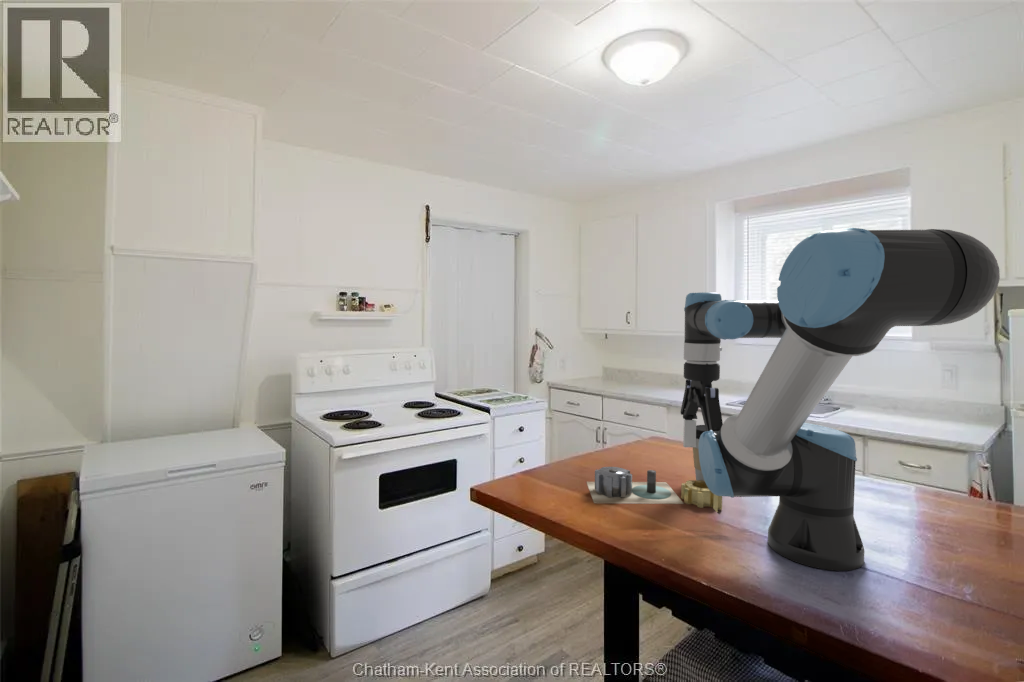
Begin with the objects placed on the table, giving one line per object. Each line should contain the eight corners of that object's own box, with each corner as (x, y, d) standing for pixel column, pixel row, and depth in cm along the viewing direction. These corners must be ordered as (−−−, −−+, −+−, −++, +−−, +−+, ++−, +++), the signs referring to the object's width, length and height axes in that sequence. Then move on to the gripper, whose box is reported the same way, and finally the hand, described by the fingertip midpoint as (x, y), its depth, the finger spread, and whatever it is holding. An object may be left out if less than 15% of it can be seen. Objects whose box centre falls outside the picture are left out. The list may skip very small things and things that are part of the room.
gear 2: (727, 514, 107) (728, 492, 106) (688, 514, 107) (689, 491, 106) (712, 500, 115) (713, 479, 115) (676, 499, 115) (677, 478, 115)
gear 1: (634, 498, 112) (635, 477, 112) (598, 498, 112) (598, 476, 112) (627, 485, 120) (627, 465, 120) (593, 485, 121) (593, 465, 120)
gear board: (684, 510, 109) (684, 480, 109) (594, 509, 110) (594, 480, 109) (666, 488, 123) (666, 461, 123) (586, 487, 123) (586, 461, 123)
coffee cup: (723, 496, 117) (725, 434, 116) (683, 488, 123) (684, 429, 122) (733, 485, 125) (734, 427, 124) (695, 478, 130) (696, 422, 129)
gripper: (743, 368, 97) (740, 474, 98) (698, 356, 121) (697, 440, 123) (705, 368, 97) (702, 473, 98) (668, 356, 122) (666, 440, 123)
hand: (699, 455), depth 110 cm, fingers open, 13 cm apart
